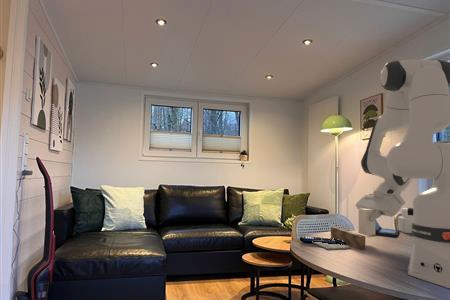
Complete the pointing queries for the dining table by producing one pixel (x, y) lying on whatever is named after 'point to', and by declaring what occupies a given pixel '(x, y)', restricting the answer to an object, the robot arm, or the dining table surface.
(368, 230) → the block
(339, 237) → the door edge
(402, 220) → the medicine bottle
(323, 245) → the grey flat board
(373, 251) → the dining table surface
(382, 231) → the handheld game console
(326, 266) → the dining table surface
